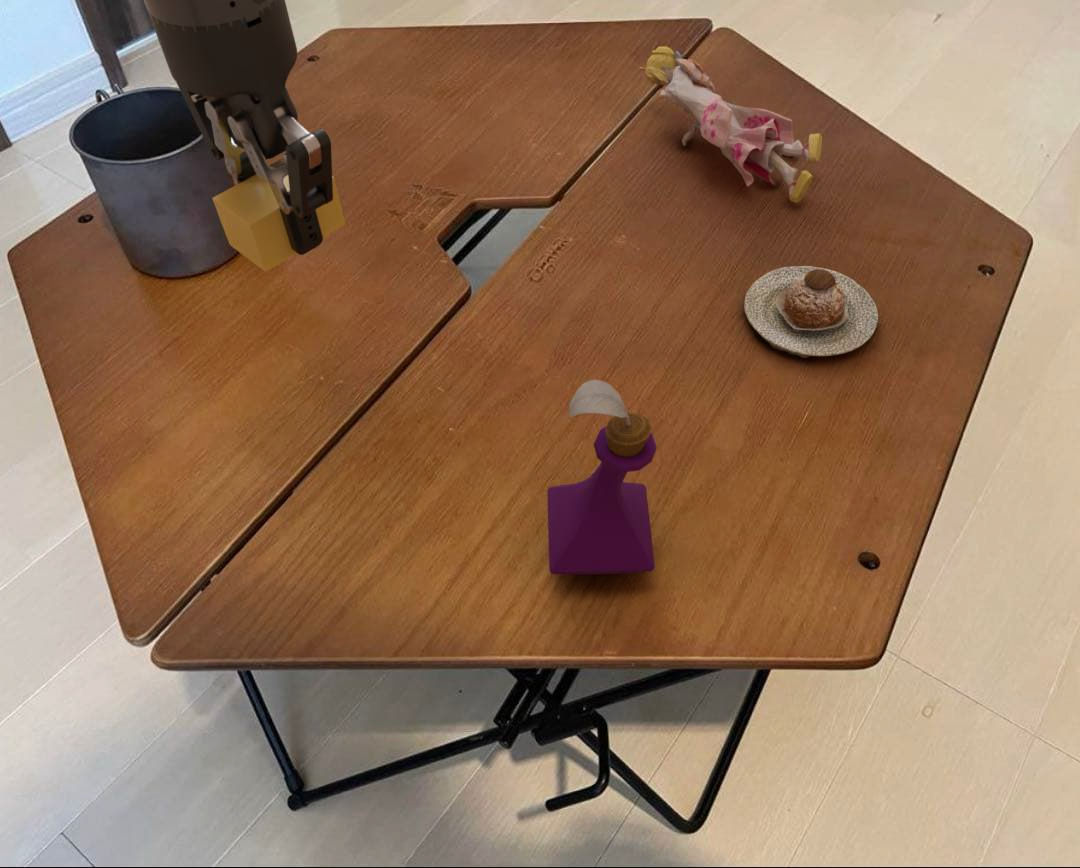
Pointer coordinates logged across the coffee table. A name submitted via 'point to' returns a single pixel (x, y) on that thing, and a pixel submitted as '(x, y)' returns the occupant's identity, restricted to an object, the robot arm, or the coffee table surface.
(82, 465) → the coffee table surface
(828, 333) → the pastry
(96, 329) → the coffee table surface
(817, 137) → the figurine
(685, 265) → the coffee table surface
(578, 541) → the perfume bottle
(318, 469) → the coffee table surface
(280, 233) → the block
